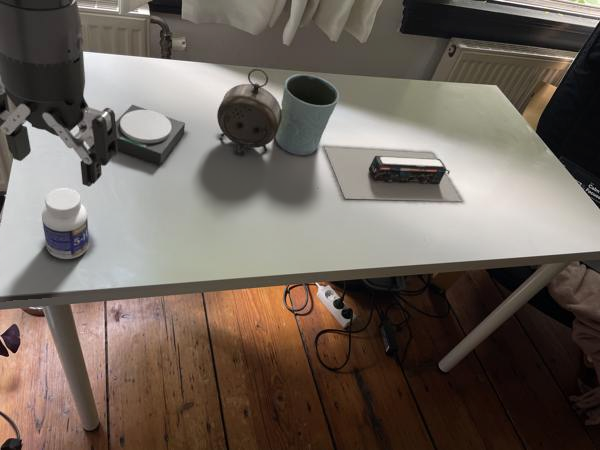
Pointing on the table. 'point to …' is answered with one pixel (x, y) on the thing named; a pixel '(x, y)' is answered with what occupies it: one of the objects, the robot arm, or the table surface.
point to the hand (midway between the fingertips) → (56, 169)
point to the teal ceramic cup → (305, 112)
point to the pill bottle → (65, 224)
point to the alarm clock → (249, 115)
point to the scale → (147, 134)
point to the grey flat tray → (390, 175)
